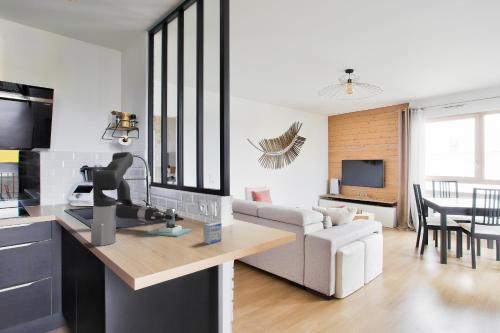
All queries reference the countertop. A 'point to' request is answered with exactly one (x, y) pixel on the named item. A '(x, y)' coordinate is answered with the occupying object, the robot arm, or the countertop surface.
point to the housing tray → (170, 231)
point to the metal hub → (172, 222)
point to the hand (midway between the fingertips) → (174, 216)
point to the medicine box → (212, 233)
